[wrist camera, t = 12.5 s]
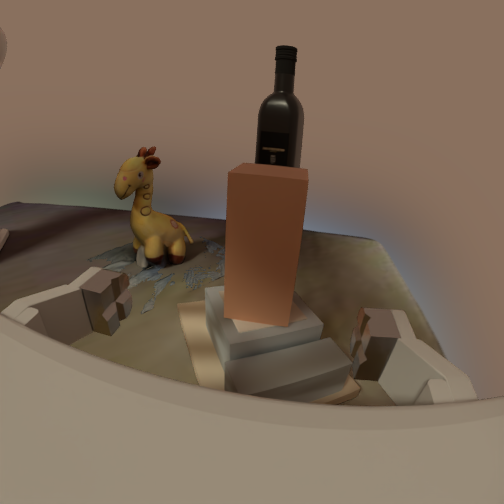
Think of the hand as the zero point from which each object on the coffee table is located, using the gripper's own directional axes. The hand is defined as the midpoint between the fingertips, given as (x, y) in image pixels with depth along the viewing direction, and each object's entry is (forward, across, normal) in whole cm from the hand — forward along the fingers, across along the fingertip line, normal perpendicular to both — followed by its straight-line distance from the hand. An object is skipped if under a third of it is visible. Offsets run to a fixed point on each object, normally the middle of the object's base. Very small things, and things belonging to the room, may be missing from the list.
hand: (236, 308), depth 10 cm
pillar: (+11, 0, +7) cm, 13 cm away
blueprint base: (+11, 0, +12) cm, 16 cm away
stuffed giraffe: (+25, +14, +13) cm, 31 cm away
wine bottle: (+35, +2, +12) cm, 37 cm away
